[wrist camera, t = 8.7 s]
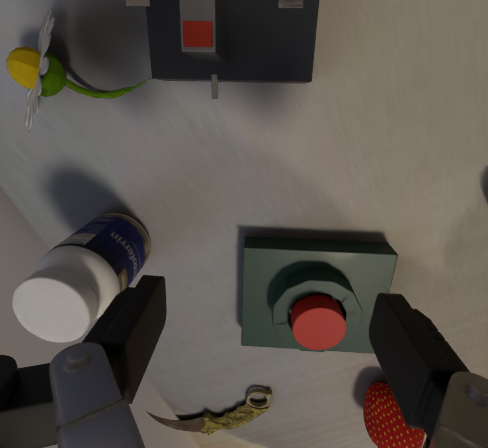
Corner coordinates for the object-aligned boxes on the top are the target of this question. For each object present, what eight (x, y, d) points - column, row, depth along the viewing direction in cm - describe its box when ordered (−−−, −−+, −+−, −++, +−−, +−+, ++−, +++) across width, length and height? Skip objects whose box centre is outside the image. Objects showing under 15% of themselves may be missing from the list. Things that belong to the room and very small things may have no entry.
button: (344, 295, 24) (350, 309, 23) (337, 335, 26) (342, 352, 24) (292, 292, 25) (294, 306, 23) (288, 333, 26) (290, 348, 25)
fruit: (382, 408, 27) (410, 494, 28) (420, 379, 29) (446, 459, 30) (340, 386, 32) (365, 459, 32) (376, 362, 34) (398, 431, 34)
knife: (147, 407, 36) (165, 436, 38) (144, 414, 35) (163, 444, 37) (269, 382, 33) (282, 414, 35) (269, 389, 33) (283, 422, 34)
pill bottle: (162, 261, 28) (113, 341, 19) (106, 275, 29) (34, 357, 20) (136, 202, 26) (68, 260, 17) (76, 219, 27) (-18, 283, 18)
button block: (387, 242, 26) (408, 266, 23) (367, 336, 30) (381, 370, 27) (245, 236, 27) (241, 258, 23) (242, 329, 31) (239, 361, 27)
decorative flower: (189, -25, 15) (-42, 117, 18) (238, 78, 20) (56, 172, 23) (166, -94, 18) (-23, 35, 21) (214, 10, 24) (57, 100, 27)
